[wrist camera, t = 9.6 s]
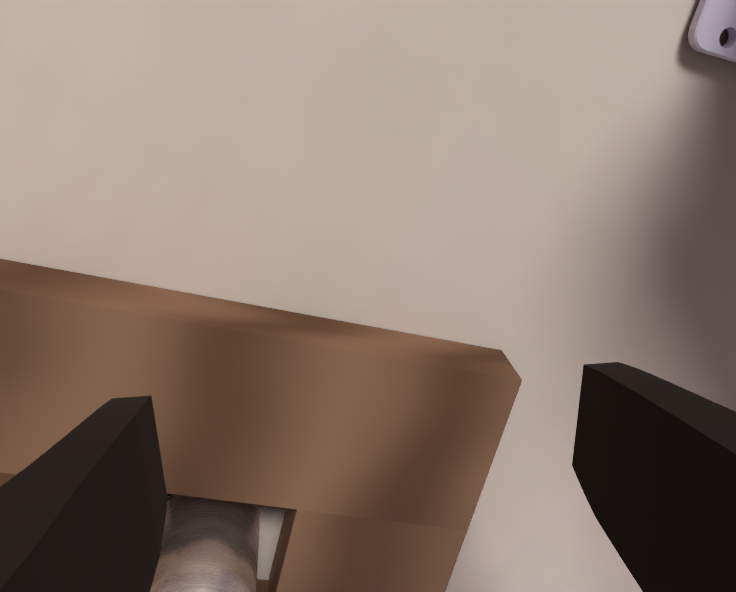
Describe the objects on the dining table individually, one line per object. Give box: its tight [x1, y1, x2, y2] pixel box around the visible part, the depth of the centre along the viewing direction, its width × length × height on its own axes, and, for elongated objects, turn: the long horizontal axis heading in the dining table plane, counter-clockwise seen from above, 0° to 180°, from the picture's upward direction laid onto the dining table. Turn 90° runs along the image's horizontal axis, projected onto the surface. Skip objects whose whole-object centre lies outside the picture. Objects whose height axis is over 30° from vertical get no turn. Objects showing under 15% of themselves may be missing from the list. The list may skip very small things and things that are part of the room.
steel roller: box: [150, 494, 260, 592], centre depth 20 cm, size 3×3×6 cm
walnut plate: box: [0, 259, 522, 592], centre depth 22 cm, size 16×16×2 cm
